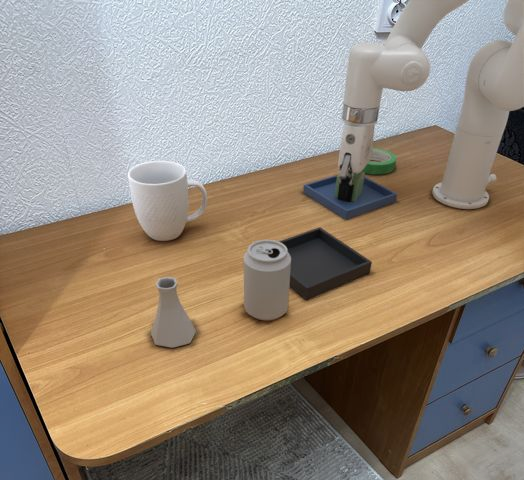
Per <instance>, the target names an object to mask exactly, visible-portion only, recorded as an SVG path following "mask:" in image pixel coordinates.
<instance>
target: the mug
mask: <svg viewBox="0 0 524 480" xmlns="http://www.w3.org/2000/svg"><path fill="white" fill-rule="evenodd" d="M127 178H128V179H127V180H128V187H129V191H130V197H131V202H132V207H133V211H134V213H135V216H136V218H137V221H138V223H139V225H140V227H141V228H142V230H143V231H144V232H145V234H146V235H147V236H148V237H149V238H150V239H152V240H155V241H158V242H168V241H172V240H175V239H177V238H178V237H180V236H181V235H182V233H183V231H184V230H185V228H186V227H185V226H186V224H187V223H189V222H191V221H194V220H196V219H198V218H200V217H201V216H202V215H203V214H204V213H205V211H206V209H207V207H208V201H209V200H208V199H209V198H208V192H207V191H206V188H205V187H204V185H203V184H202V183H201V182H200V181H198V180H195V179H191V178H190V179H188V174H187V169H186V167H185V166H183V165H182V164H181V163H178V162H176V161H170V160H151V161H145V162H142V163H138V164H136V165H134V166H132V167H131V168H130V169H129V170H128V172H127ZM191 187H197V188H198V189H199V190H200V193H201V194H202V202H201V205H200V207H199V208H198V210H196V211H195V212H193V213H192V214H189V203H190V202H189V200H190V198H189V188H191Z"/></svg>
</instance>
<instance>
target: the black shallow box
mask: <svg viewBox="0 0 524 480" xmlns="http://www.w3.org/2000/svg"><path fill="white" fill-rule="evenodd" d="M278 242H281V243H282V244H284V245H285V246H286V247H287V249H288V253H289V254H290V256H291V269H290V284H289V288H291V289H292V290H293V291H294V292H296V293H297V294H298V295H299V296H300V297H302V298H303V299H304V300H305V301H308V300H309V299H312V298H315V297H316V296H319V295H321V294H324V293H325V292H329V291H331V290H333V289H335V288H338V287H340V286H342V285H345V284H347V283H349V282H351V281H354V280H356V279H359V278H361V277H364V276H366V275H369V274H371V268H372V263H373V261H371V260H370V259H369V258H367V257H366V256H364V255H362V254H361V253H359V252H358V251H356V250H355V249H353V248H352V247H351V246H349V245H348V244H346V243H344V242H343V241H342V240H340V239H338V238H337V237H335V236H334V235H332V234H331V233H330V232H328V231H327V230H325V229H323V228H322V227H320V226H319V227H316V228H312V229H311V230H308V231H305V232H302V233H299V234H295V235H293V236H290V237H288V238H285V239H282V240H280V241H278Z"/></svg>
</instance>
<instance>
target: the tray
mask: <svg viewBox="0 0 524 480" xmlns="http://www.w3.org/2000/svg"><path fill="white" fill-rule="evenodd" d="M339 174H340V173H338V174H334V175H332V176H328V177H326V178H322V179H318V180H315V181H312V182H307V183H305V184H303V188H302V189H303V190H302V193H303V194H304V195H306V196H307V197H308V198H311V199H313V201H315V202H317V203H319V204H320V205H322V206H323V207H325V208H326V209H328V210H330V211H331V212H333V213H334V214H336V215H338V216H339V217H341V218H343V219H344V220H348V219H352V218H354V217H357V216H360V215H362V214H365V213H368V212H372V211H375V210H377V209H380V208H382V207H386V206H388V205H392V204H394V203H396V202H397V198H398V193H397V192H395V191H393V190H391V189H390V188H387V187H385V186H384V185H382V184H380V183H378V182H377V181H374V180H372V179H371V178H368V177H367V176H364V182H363V189H362V193H361V195H360V196H359V197H358V199H357V200H356V201H355V202H354V201H351V202H346V201H342V200H338V198H336V197H335V189H336V180H337V176H338V175H339Z"/></svg>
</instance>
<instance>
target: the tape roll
mask: <svg viewBox="0 0 524 480" xmlns="http://www.w3.org/2000/svg"><path fill="white" fill-rule="evenodd" d="M396 162H397V156H396V155H395V153H393V152H391V151H388V150H387V149H386V150H385V149H382V148H375V147H372V153H371V159H370V161H369V162H368V164H367V165H366V166H365V168H364V169H363V171H362V172H365V174H367V175H387V174H389V173H392V172H393V171H395V168H396Z"/></svg>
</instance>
